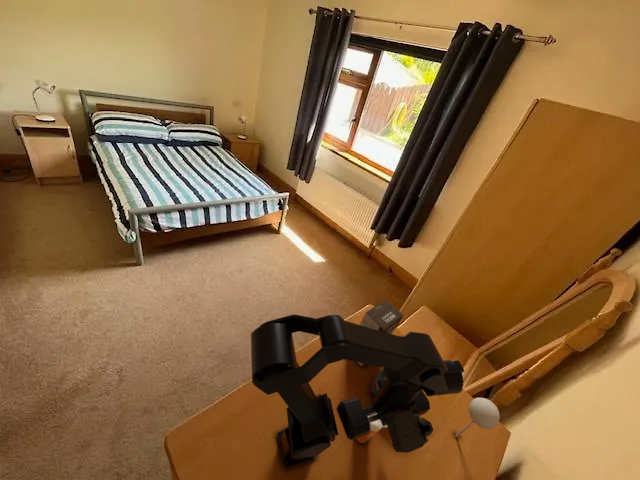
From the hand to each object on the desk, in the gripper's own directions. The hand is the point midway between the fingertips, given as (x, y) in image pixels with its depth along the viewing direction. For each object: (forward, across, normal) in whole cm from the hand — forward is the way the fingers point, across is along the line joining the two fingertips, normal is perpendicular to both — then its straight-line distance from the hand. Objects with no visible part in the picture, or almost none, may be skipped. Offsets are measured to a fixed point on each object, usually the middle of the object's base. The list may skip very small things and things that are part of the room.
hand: (370, 425), depth 65 cm
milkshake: (+6, 0, 0) cm, 6 cm away
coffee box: (+6, +11, +19) cm, 23 cm away
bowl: (+6, +12, +6) cm, 14 cm away
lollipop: (+6, +23, -6) cm, 25 cm away
